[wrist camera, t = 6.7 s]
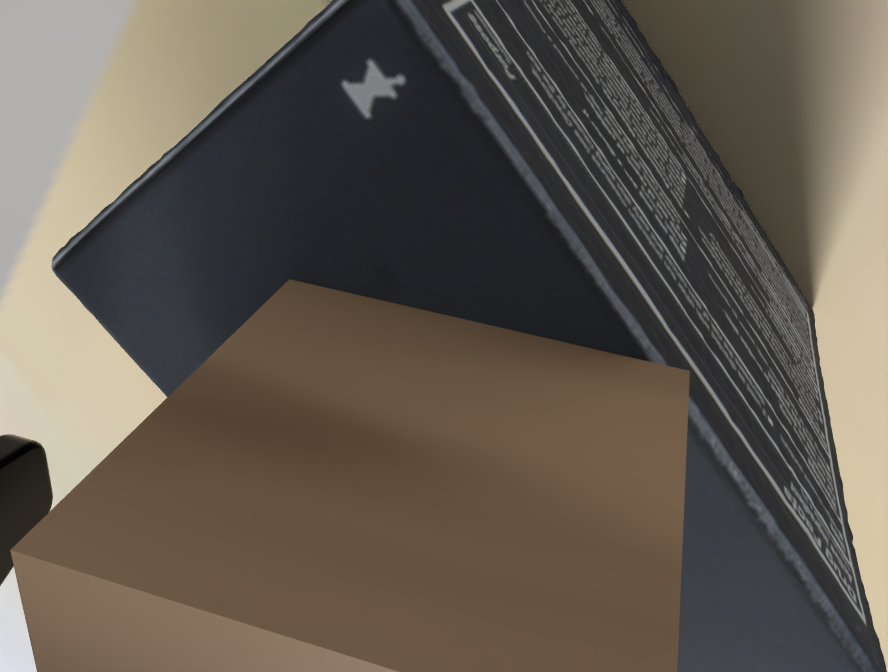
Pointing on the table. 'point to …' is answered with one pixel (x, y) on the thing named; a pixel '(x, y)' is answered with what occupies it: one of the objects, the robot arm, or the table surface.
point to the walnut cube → (376, 507)
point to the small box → (517, 266)
